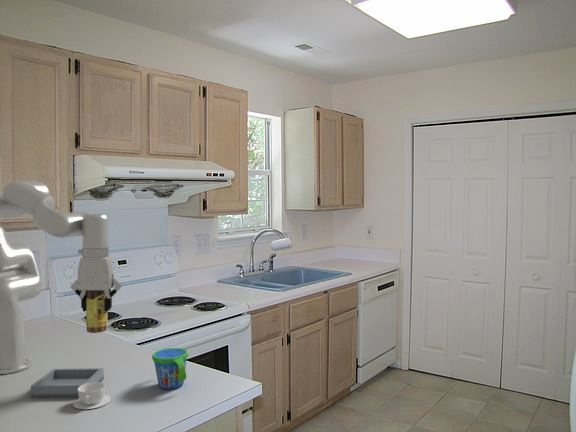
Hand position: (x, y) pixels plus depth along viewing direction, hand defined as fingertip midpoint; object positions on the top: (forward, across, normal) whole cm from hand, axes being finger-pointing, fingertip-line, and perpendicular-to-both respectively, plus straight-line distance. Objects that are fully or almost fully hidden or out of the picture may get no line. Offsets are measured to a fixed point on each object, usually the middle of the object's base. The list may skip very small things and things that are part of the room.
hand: (96, 309), depth 156 cm
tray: (+23, -7, -5) cm, 25 cm away
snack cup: (+23, +24, -4) cm, 33 cm away
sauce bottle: (+7, 0, 0) cm, 7 cm away
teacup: (+23, +4, -16) cm, 28 cm away
